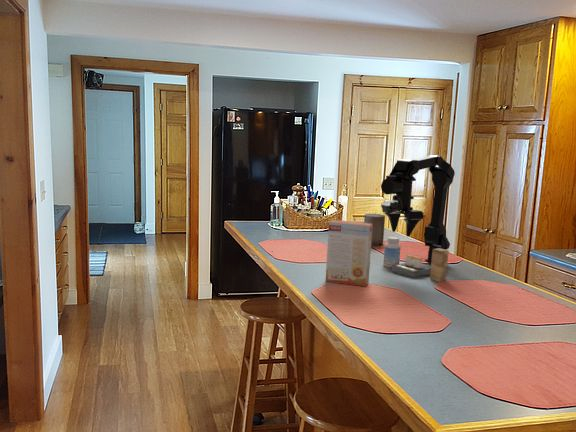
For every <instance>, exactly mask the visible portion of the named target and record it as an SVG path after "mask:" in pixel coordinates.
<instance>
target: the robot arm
mask: <svg viewBox="0 0 576 432" xmlns="http://www.w3.org/2000/svg"><path fill="white" fill-rule="evenodd" d="M424 169H428V171H429V173H430V175H431V182H432V184H433V186H434V194H433V201H432V209H431V217H430V223H429V224H427V225H426V226H424V231H423V232H424V234H423V239H424V246H425V247H428V254H427V258H425V259H424V261H426V262H427V263H428V262H429V263H431V261H432V250H433V249H437V248H441V249H445V250H449V249H450V245H451V243H450V241H449V239H448V237H447V229H446V227H445V224H444V219H445V213H446V212H445V211H446V205H447V197H448V189H449V187H450V186H451V185H452V184H453V181H454V178H455V174H456V172H455V170H454V168H453V166H452V165H451V164H450V163H449V162H447V161H446V160H444V158H443V157H442V156H441V155H438V154H437V155H435V154H434V155H433V154H430V155H428V156H423V157H419V158H414V159H406V158H405V159H404V158H402V159H401V158H399V159H397V160H396V162H395V164H394V165H393V167H392V168H391V170H390V171H391V172H390V173H389V175H386V178H384V179H383V181H382V182H381V184H380V191H382V193H383V194H384V195H393V196H392V199H390V200H389V199H388V200H387V201H384V202H382V203H381V204H380V205H381V208H382V209H381V210H382V213H384V214H383V215H385V216H387V217H388V220H389V225H390V227H391V231H392V232H393V233H394V232H396V231H397V227H398V225H399V221H400V218H401V215H403V216H404V217H403V220H404V221H405V223H406V224H405V225H406V226H405V230H406V231H405V233H406V237H410V236H411V235H412V233H413V230H415V228H416V226H417V225H418V223H419V222H420V221H422V220H423V219H424V216H425V214H424V212H423V211H422V210H418V209H414V207H413V206H412V200H414V199H415V197H414V196H413V194H412V193H413V192H412V191H413V182H416V180H417V179H416V177H414V175H416V174H418V173H419V171H420V170H424Z"/></svg>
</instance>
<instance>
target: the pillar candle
mask: <svg viewBox="0 0 576 432" xmlns="http://www.w3.org/2000/svg"><path fill="white" fill-rule="evenodd" d="M363 218H364V219H363V223H371V224H373V225H372V241H371V246H380V245H379V244H382V245H384V238H385V237H384V236H385V223H386V222H385V221H386V214H381V213H376V212H374V213H365V214H364V217H363Z"/></svg>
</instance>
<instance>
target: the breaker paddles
mask: <svg viewBox="0 0 576 432" xmlns="http://www.w3.org/2000/svg"><path fill="white" fill-rule="evenodd" d="M404 259H405V261H404V263H405V264H406V265H409V266H412V265H413V264H414V266H413V267H416V268H422V264H423V261H424V260H423V258H422V257H418V256H415V255H410V254H406V256H405V258H404Z"/></svg>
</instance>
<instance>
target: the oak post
mask: <svg viewBox="0 0 576 432" xmlns="http://www.w3.org/2000/svg"><path fill="white" fill-rule="evenodd" d="M449 252H450V251H449V249H447V250H445V249H441V248H437V249H433V250H432V261H431V262H430V267H431V271H430V275H429V280H432V281H436V282H438V283H439V282H443V281H446V280H447V271H448V262H449Z"/></svg>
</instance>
